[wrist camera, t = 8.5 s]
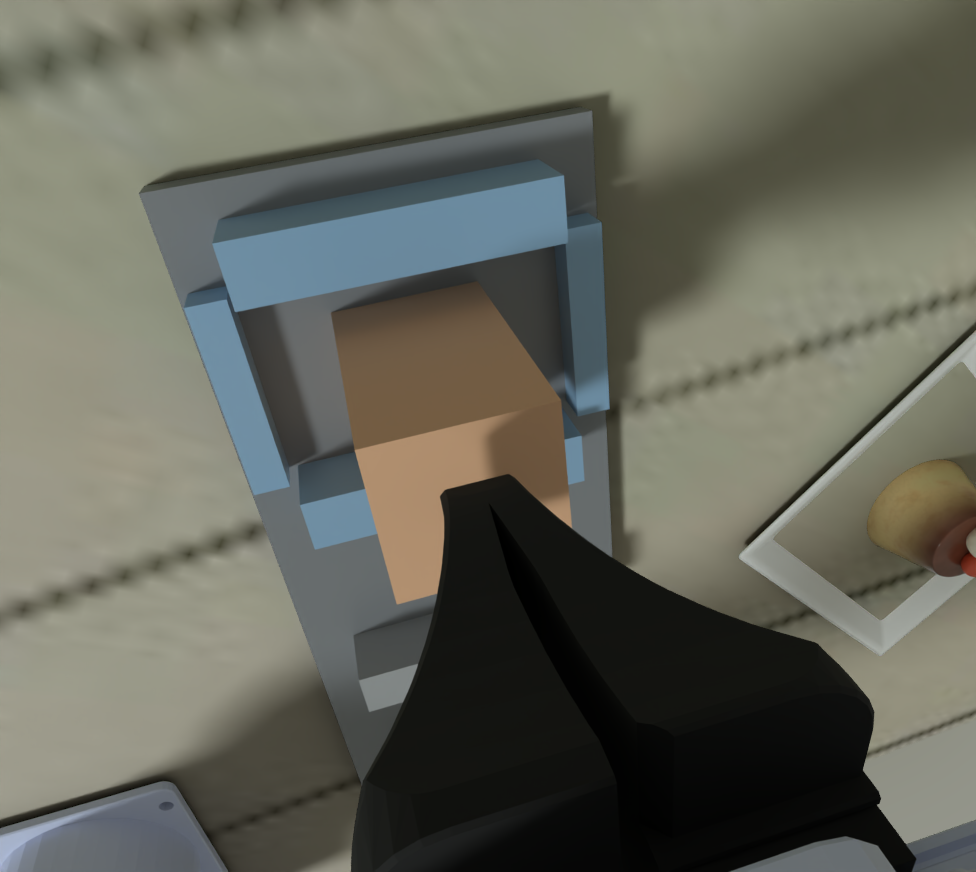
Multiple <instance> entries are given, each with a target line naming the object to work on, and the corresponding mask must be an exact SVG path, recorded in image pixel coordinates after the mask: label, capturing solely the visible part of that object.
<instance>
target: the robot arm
mask: <svg viewBox="0 0 976 872" xmlns="http://www.w3.org/2000/svg"><path fill="white" fill-rule="evenodd" d="M440 500H441V505H442V510H443V515H444V545H443V557H442V567H441V574H440V580H439V586H438V592H437V597H436V603H435V607H434V612H433V616H432V620H431V624H430V628H429V631H428V635H427V638H426V642H425V645H424V648H423V651H422V654H421V657H420V660H419V663H418V666H417V669H416V672H415V675H414V677H413V680H412V682H411V685H410V688H409V690H408V692H407V694H406V697H405V699H404V701H403V703H402V706H401V708H400V710H399V712H398V715H397V717H396V719H395V721H394V724H393V726H392V728H391V730H390V732H389V734H388V736H387V738H386V740H385V742H384V744H383V745H382V747H381V749H380V751H379V753H378V754H377V756H376V758H375V760H374V762H373V764H372V765H371V767H370V769H369V771H368V773H367V774H366V776H365V778H364V780H363V783H362V787H361V792H360V798H359V803H358V808H357V814H356V820H355V826H354V833H353V843H352V857H351V872H976V820H974V821H971V822H968V823H965V824H962V825H959V826H957V827H954V828H951V829H948V830H945V831H942V832H940V833H937V834H934V835H931V836H928V837H926V838H923V839H920V840H917V841H914V842H911V843H908V844H905V843H904V841H903V840H902V839H901V837H900V836H899V834H898V833H897V832H896V830H895V829H894V828H893V826H892V825H891V824H890V822H889V821H888V820H887V818H886V817H885V816H884V814H883V813H882V812H881V810H880V809H879V808H878V806H877V804H879V803H880V800H881V797H880V795H879V791H878V790H877V789H876V787H875V786H874V785H873V783H872V782H871V781H870V779H869V778H868V777H867V775H866V774H865V773H864V772H863V767H864V763H865V759H866V755H867V751H868V747H869V743H870V739H871V735H872V731H873V724H874V710H873V707H872V705H871V703H870V700H869V698H868V697H867V696H866V695H865V694H864V692H863V691H862V690H861V689H860V688H859V687H858V685H857V684H856V683H855V682H854V681H853V679H852V678H851V677H850V676H849V675H848V674H847V673H846V672H845V671H844V669H843V668H842V667H841V666H840V665H839V664H838V663H837V662H836V661H835V660H834V659H832V658H831V657H830V656H829V655H828V654H827V653H826V652H825V651H824V650H823V649H822V648H821V647H820V646H819V645H818V644H817V643H815V642H811V641H808V640H804V639H801V638H797V637H794V636H790V635H787V634H783V633H780V632H776V631H773V630H769V629H766V628H762V627H759V626H756V625H753V624H750V623H747V622H745V621H742V620H739V619H736V618H733V617H731V616H728V615H725V614H722V613H720V612H717V611H715V610H712V609H710V608H707V607H705V606H703V605H700V604H698V603H696V602H694V601H692V600H689V599H687V598H685V597H683V596H680V595H678V594H676V593H674V592H672V591H669V590H667V589H665V588H663V587H661V586H660V585H658V584H656V583H654V582H652V581H650V580H648V579H647V578H645V577H643V576H641V575H640V574H638V573H636V572H634V571H633V570H631V569H629V568H628V567H626V566H625V565H623V564H621V563H620V562H618V561H617V560H615V559H614V558H612V557H611V556H609V555H608V554H606V553H605V552H603V551H602V550H600V549H599V548H597V547H596V546H595V545H593V544H592V543H590V542H589V541H588V540H586V539H585V538H584V537H582V536H581V535H580V534H578V533H577V532H576V531H575V530H573V529H572V528H571V527H570V526H568V525H567V524H566V523H564V522H563V521H562V520H561V519H559V518H558V517H557V516H556V515H555V514H553V513H552V512H551V511H550V510H549V509H548V508H547V507H545V506H544V505H543V504H542V503H541V502H540V501H539V500H538V499H536V498H535V497H534V496H533V495H532V494H531V493H530V492H529V491H528V490H527V489H526V488H525V487H524V486H523V485H522V484H521V483H520V482H519V481H518V480H517V479H516V478H515V477H513V476H511V475H510V474H506V475H502V476H498V477H494V478H490V479H486V480H482V481H478V482H474V483H470V484H466V485H462V486H458V487H454V488H450V489H446V490H444V491H443V493H442V494H441V495H440ZM0 872H228V870H227V868H226V867H225V865H224V863H223V862H222V860H221V859H220V857H219V855H218V854H217V852H216V850H215V849H214V847H213V846H212V844H211V842H210V841H209V839H208V837H207V836H206V834H205V833H204V831H203V829H202V828H201V826H200V824H199V823H198V821H197V819H196V818H195V816H194V815H193V813H192V811H191V810H190V808H189V806H188V805H187V803H186V802H185V800H184V798H183V797H182V795H181V793H180V792H179V790H178V788H177V787H176V786H175V785H174V784H173V783H171V782H167V781H162V782H157V783H153V784H150V785H147V786H143V787H140V788H136V789H133V790H129V791H126V792H123V793H119V794H116V795H112V796H109V797H105V798H102V799H99V800H95V801H92V802H88V803H85V804H81V805H78V806H75V807H71V808H68V809H64V810H61V811H57V812H54V813H51V814H47V815H44V816H40V817H37V818H33V819H30V820H27V821H23V822H20V823H16V824H13V825H9V826H6V827H2V828H0Z"/></svg>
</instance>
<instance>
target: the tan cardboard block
mask: <svg viewBox="0 0 976 872" xmlns="http://www.w3.org/2000/svg"><path fill="white" fill-rule="evenodd" d="M331 317H332V323H333V329H334V334H335V340H336V346H337V352H338V357H339V363H340V369H341V375H342V380H343V386H344V392H345V398H346V403H347V409H348V415H349V421H350V426H351V432H352V438H353V444H354V449H355V453H356V457H357V461H358V464H359V468H360V472H361V475H362V479H363V483H364V486H365V490H366V494H367V497H368V501H369V505H370V508H371V512H372V516H373V519H374V523H375V527H376V530H377V534H378V538H379V541H380V545H381V549H382V552H383V556H384V560H385V563H386V567H387V571H388V574H389V578H390V582H391V585H392V589H393V592H394V596H395V600H396V603H397V604H401V603H405V602H408V601H412V600H416V599H419V598H423V597H427V596H430V595H434V594H437V592H438V586H439V580H440V574H441V567H442V557H443V545H444V515H443V510H442V505H441V500H440V495H441V494H442V493H443V491H444V490H446V489H450V488H454V487H458V486H462V485H466V484H470V483H474V482H478V481H482V480H486V479H490V478H494V477H498V476H502V475H506V474H510V475H511V476H513V477H515V478H516V479H517V480H518V481H519V482H520V483H521V484H522V485H523V486H524V487H525V488H526V489H527V490H528V491H529V492H530V493H531V494H532V495H533V496H534V497H535V498H536V499H538V500H539V501H540V502H541V503H542V504H543V505H544V506H545V507H547V508H548V509H549V510H550V511H551V512H552V513H553V514H555V515H556V516H557V517H558V518H559V519H561V520H562V521H563V522H564V523H566V524H567V525H568V526H570V527H571V528H572V522H571V510H570V498H569V486H568V475H567V463H566V451H565V439H564V428H563V416H562V404H561V399H560V398H559V397H558V395H557V394H556V392H555V391H554V389H553V388H552V387H551V385H550V384H549V382H548V381H547V380H546V378H545V377H544V375H543V374H542V372H541V371H540V370H539V368H538V367H537V365H536V364H535V362H534V361H533V360H532V358H531V357H530V355H529V354H528V352H527V351H526V350H525V348H524V347H523V345H522V344H521V343H520V341H519V340H518V338H517V337H516V335H515V334H514V333H513V331H512V330H511V328H510V327H509V325H508V324H507V323H506V321H505V320H504V318H503V317H502V316H501V314H500V313H499V311H498V310H497V308H496V307H495V306H494V304H493V303H492V301H491V300H490V298H489V297H488V296H487V294H486V293H485V291H484V290H483V289H482V287H481V286H480V284H479V283H478V281H476V282H471V283H467V284H462V285H457V286H453V287H448V288H443V289H439V290H434V291H429V292H425V293H420V294H415V295H411V296H406V297H401V298H397V299H392V300H387V301H383V302H378V303H373V304H369V305H364V306H359V307H355V308H350V309H345V310H341V311H336V312H331Z"/></svg>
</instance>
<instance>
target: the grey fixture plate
mask: <svg viewBox="0 0 976 872" xmlns="http://www.w3.org/2000/svg"><path fill="white" fill-rule="evenodd" d="M139 195H140V198H141V200H142V203H143V205H144V208H145V211H146V213H147V216H148V219H149V221H150V224H151V227H152V229H153V232H154V235H155V237H156V240H157V243H158V245H159V248H160V251H161V253H162V256H163V259H164V261H165V264H166V267H167V269H168V272H169V275H170V277H171V280H172V282H173V285H174V288H175V290H176V293H177V296H178V298H179V301H180V304H181V306H182V309H183V312H184V314H185V317H186V320H187V322H188V325H189V328H190V330H191V333H192V336H193V338H194V341H195V344H196V346H197V349H198V352H199V354H200V357H201V360H202V362H203V365H204V367H205V370H206V373H207V375H208V378H209V381H210V383H211V386H212V389H213V391H214V394H215V397H216V399H217V402H218V405H219V407H220V410H221V413H222V415H223V418H224V421H225V423H226V426H227V429H228V431H229V434H230V437H231V439H232V442H233V445H234V447H235V450H236V452H237V455H238V458H239V460H240V463H241V466H242V468H243V471H244V474H245V476H246V479H247V482H248V484H249V487H250V490H251V492H252V495H253V498H254V500H255V503H256V506H257V508H258V511H259V514H260V516H261V519H262V522H263V524H264V527H265V529H266V532H267V535H268V537H269V540H270V543H271V545H272V548H273V551H274V553H275V556H276V559H277V561H278V564H279V567H280V569H281V572H282V575H283V577H284V580H285V583H286V585H287V588H288V591H289V593H290V596H291V599H292V601H293V604H294V607H295V609H296V612H297V614H298V617H299V620H300V622H301V625H302V628H303V630H304V633H305V636H306V638H307V641H308V644H309V646H310V649H311V652H312V654H313V657H314V660H315V662H316V665H317V668H318V670H319V673H320V676H321V678H322V681H323V684H324V686H325V689H326V691H327V694H328V697H329V699H330V702H331V705H332V707H333V710H334V713H335V715H336V718H337V721H338V723H339V726H340V729H341V731H342V734H343V737H344V739H345V742H346V745H347V747H348V750H349V753H350V755H351V758H352V761H353V763H354V766H355V769H356V771H357V774H358V776H359V779H360V782H361V784H362V783H363V780H364V778H365V776H366V774H367V773H368V771H369V769H370V767H371V765H372V764H373V762H374V760H375V758H376V756H377V754H378V753H379V751H380V749H381V747H382V745H383V744H384V742H385V740H386V738H387V736H388V734H389V732H390V730H391V728H392V726H393V724H394V721H395V719H396V717H397V715H398V712H399V710H400V708H401V706H402V703H403V701H404V699H405V697H406V694H407V692H408V690H409V688H410V685H411V682H412V680H413V677H414V675H415V672H416V669H417V666H418V663H419V660H420V657H421V654H422V651H423V648H424V645H425V642H426V638H427V635H428V631H429V628H430V624H431V620H432V616H433V612H434V607H435V603H436V597H437V594H434V595H430V596H427V597H423V598H419V599H416V600H412V601H408V602H405V603H401V604H397V603H396V600H395V596H394V592H393V589H392V585H391V582H390V578H389V574H388V571H387V567H386V563H385V560H384V556H383V552H382V549H381V545H380V541H379V538H378V534H377V530H376V527H375V523H374V519H373V516H372V512H371V508H370V505H369V501H368V497H367V494H366V490H365V486H364V483H363V479H362V475H361V472H360V468H359V464H358V461H357V457H356V453H355V449H354V444H353V438H352V432H351V426H350V421H349V415H348V409H347V403H346V398H345V392H344V386H343V380H342V375H341V369H340V363H339V357H338V352H337V346H336V340H335V334H334V329H333V323H332V317H331V312H336V311H341V310H345V309H350V308H355V307H359V306H364V305H369V304H373V303H378V302H383V301H387V300H392V299H397V298H401V297H406V296H411V295H415V294H420V293H425V292H429V291H434V290H439V289H443V288H448V287H453V286H457V285H462V284H467V283H471V282H476V281H478V283H479V284H480V286H481V287H482V289H483V290H484V291H485V293H486V294H487V296H488V297H489V298H490V300H491V301H492V303H493V304H494V306H495V307H496V308H497V310H498V311H499V313H500V314H501V316H502V317H503V318H504V320H505V321H506V323H507V324H508V325H509V327H510V328H511V330H512V331H513V333H514V334H515V335H516V337H517V338H518V340H519V341H520V343H521V344H522V345H523V347H524V348H525V350H526V351H527V352H528V354H529V355H530V357H531V358H532V360H533V361H534V362H535V364H536V365H537V367H538V368H539V370H540V371H541V372H542V374H543V375H544V377H545V378H546V380H547V381H548V382H549V384H550V385H551V387H552V388H553V389H554V391H555V392H556V394H557V395H558V397H559V398H560V399H561V404H562V416H563V428H564V439H565V451H566V463H567V475H568V486H569V498H570V510H571V522H572V529H573V530H575V531H576V532H577V533H578V534H580V535H581V536H582V537H584V538H585V539H586V540H588V541H589V542H590V543H592V544H593V545H595V546H596V547H597V548H599V549H600V550H602V551H603V552H605V553H606V554H608V555H609V556H611V557H612V538H611V516H610V494H609V472H608V450H607V428H606V410H607V409H610V408H609V384H608V360H607V336H606V313H605V289H604V265H603V241H602V222H601V221H599V220H598V219H597V206H596V184H595V162H594V140H593V118H592V111H591V110H589V109H586V108H583V107H577V108H571V109H566V110H560V111H555V112H549V113H544V114H538V115H533V116H527V117H522V118H516V119H511V120H505V121H500V122H494V123H489V124H483V125H478V126H472V127H467V128H461V129H456V130H450V131H445V132H439V133H434V134H428V135H423V136H417V137H412V138H406V139H401V140H395V141H390V142H384V143H379V144H373V145H367V146H362V147H356V148H351V149H345V150H340V151H334V152H329V153H323V154H318V155H312V156H307V157H301V158H296V159H290V160H285V161H279V162H274V163H268V164H263V165H257V166H252V167H246V168H241V169H235V170H230V171H224V172H219V173H213V174H208V175H202V176H197V177H191V178H186V179H180V180H175V181H169V182H164V183H158V184H153V185H147V186H144V187H143V189H142V190H141V191H140V193H139Z"/></svg>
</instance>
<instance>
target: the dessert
mask: <svg viewBox="0 0 976 872" xmlns="http://www.w3.org/2000/svg"><path fill="white" fill-rule="evenodd" d="M960 362H963V363H964V364H965V365H966V366H967V367H968V369H969V370H970V371H971V372H972V374H973V375H974V376H975V378H976V330H975V331H974V332H973V333H972V334H971V335H970V336H969V337H968V338H967V339H966V340H965V341H964V342H963V343H962V344H961V345H960V346H959V347H958V348H956V349H955V350H954V351H953V352H952V353H951V354H950V355H949V356H948V357H947V358H946V359H945V360H944V361H943V362H942V363H941V364H940V365H939V366H937V367H936V368H935V369H934V370H933V371H932V372H931V373H930V374H929V375H928V376H927V377H926V378H925V379H924V380H923V381H922V382H921V383H920V384H918V385H917V386H916V387H915V388H914V389H913V390H912V391H911V392H910V393H909V394H908V395H907V396H906V397H905V398H904V399H903V400H902V401H901V402H899V403H898V404H897V405H896V406H895V407H894V408H893V409H892V410H891V411H890V412H889V413H888V414H887V415H886V416H885V417H884V418H883V419H881V420H880V421H879V422H878V423H877V424H876V425H875V426H874V427H873V428H872V429H871V430H870V431H869V432H868V433H867V434H866V435H865V436H864V437H862V438H861V439H860V440H859V441H858V442H857V443H856V444H855V445H854V446H853V447H852V448H851V449H850V450H849V451H848V452H847V453H846V454H845V455H843V456H842V457H841V458H840V459H839V460H838V461H837V462H836V463H835V464H834V465H833V466H832V467H831V468H830V469H829V470H828V471H827V472H826V473H824V474H823V475H822V476H821V477H820V478H819V479H818V480H817V481H816V482H815V483H814V484H813V485H812V486H811V487H810V488H809V489H808V490H807V491H805V492H804V493H803V494H802V495H801V496H800V497H799V498H798V499H797V500H796V501H795V502H794V503H793V504H792V505H791V506H790V507H789V508H788V509H786V510H785V511H784V512H783V513H782V514H781V515H780V516H779V517H778V518H777V519H776V520H775V521H774V522H773V523H772V524H771V525H770V526H768V527H767V528H766V529H765V530H764V531H763V532H762V533H761V534H760V535H759V536H758V537H757V538H756V539H755V540H754V541H753V542H752V543H751V544H749V545H748V546H747V547H746V548H745V549H744V550H743V551H742V552H741V553H740V555H739V559H740V560H742V561H743V562H744V563H746V564H747V565H749V566H750V567H752V568H753V569H755V570H756V571H757V572H759V573H760V574H762V575H763V576H765V577H766V578H767V579H769V580H770V581H772V582H773V583H775V584H776V585H778V586H779V587H780V588H782V589H783V590H785V591H786V592H788V593H789V594H790V595H792V596H793V597H795V598H796V599H798V600H799V601H801V602H802V603H803V604H805V605H806V606H808V607H809V608H811V609H812V610H814V611H815V612H816V613H818V614H819V615H821V616H822V617H824V618H825V619H826V620H828V621H829V622H831V623H832V624H834V625H835V626H837V627H838V628H839V629H841V630H842V631H844V632H845V633H847V634H848V635H849V636H851V637H852V638H854V639H855V640H857V641H858V642H860V643H861V644H862V645H864V646H865V647H867V648H868V649H870V650H871V651H872V652H874V653H875V654H877V655H878V656H882V655H883V654H884V653H886V652H887V651H888V650H889V649H890V648H892V647H893V646H894V645H895V644H896V643H897V642H899V641H900V640H901V639H902V638H903V637H905V636H906V635H907V634H908V633H909V632H910V631H912V630H913V629H914V628H915V627H916V626H918V625H919V624H920V623H921V622H922V621H924V620H925V619H926V618H927V617H928V616H929V615H931V614H932V613H933V612H934V611H935V610H937V609H938V608H939V607H940V606H941V605H943V604H944V603H945V602H946V601H947V600H948V599H950V598H951V597H952V596H953V595H954V594H956V593H957V592H958V591H959V590H960V589H961V588H963V587H964V586H965V585H966V584H967V583H969V582H970V581H971V580H972V579H973V578H975V577H976V488H975V487H974V485H973V484H972V483H971V481H970V480H969V479H968V477H967V476H966V474H965V473H964V472H963V470H962V469H961V468H960V466H958V465H957V464H956V463H954V462H952V461H948V460H932V461H928V462H924V463H921V464H919V465H917V466H914V467H912V468H910V469H909V470H907V471H905V472H904V473H902V474H901V475H900V476H898V477H897V478H896V479H894V480H893V481H892V482H891V483H890V484H889V485H888V486H887V487H886V488H885V489H884V490H883V491H882V493H881V494H880V495H879V497H878V498H877V500H876V501H875V503H874V505H873V507H872V509H871V511H870V514H869V517H868V522H867V531H868V535H869V537H870V539H871V541H872V542H873V543H874V544H875V545H877V546H879V547H881V548H883V549H886V550H888V551H890V552H892V553H894V554H896V555H898V556H900V557H902V558H904V559H906V560H908V561H910V562H912V563H914V564H916V565H919V566H921V567H923V568H925V569H927V570H929V571H931V572H933V573H935V574H936V575H935V576H934V577H932V578H931V579H930V580H929V581H928V582H927V583H925V584H924V585H923V586H922V587H921V588H919V589H918V590H917V591H916V592H915V593H914V594H912V595H911V596H910V597H909V598H908V599H907V600H905V601H904V602H903V603H902V604H901V605H899V606H898V607H897V608H896V609H895V610H894V611H892V612H891V613H890V614H889V615H888V616H887V617H885V618H884V619H882V620H879V619H877V618H876V617H875V616H873V615H872V614H871V613H869V612H868V611H867V610H865V609H864V608H863V607H861V606H860V605H859V604H857V603H856V602H855V601H853V600H852V599H851V598H849V597H848V596H847V595H845V594H844V593H843V592H841V591H840V590H839V589H838V588H836V587H835V586H834V585H832V584H831V583H830V582H828V581H827V580H826V579H824V578H823V577H822V576H820V575H819V574H818V573H816V572H815V571H814V570H812V569H811V568H810V567H808V566H807V565H806V564H804V563H803V562H802V561H800V560H799V559H798V558H796V557H795V556H794V555H793V554H791V553H790V552H789V551H787V550H786V549H785V548H783V547H782V546H781V545H779V544H778V543H777V542H775V541H774V537H775V535H776V534H777V533H778V532H779V531H780V530H781V529H782V528H784V527H785V526H786V525H787V524H788V523H789V522H790V521H791V520H792V519H793V518H794V517H795V516H796V515H797V514H798V513H799V512H801V511H802V510H803V509H804V508H805V507H806V506H807V505H808V504H809V503H810V502H811V501H812V500H813V499H814V498H815V497H816V496H818V495H819V494H820V493H821V492H822V491H823V490H824V489H825V488H826V487H827V486H828V485H829V484H830V483H831V482H832V481H833V480H835V479H836V478H837V477H838V476H839V475H840V474H841V473H842V472H843V471H844V470H845V469H846V468H847V467H848V466H849V465H850V464H852V463H853V462H854V461H855V460H856V459H857V458H858V457H859V456H860V455H861V454H862V453H863V452H864V451H865V450H866V449H867V448H869V447H870V446H871V445H872V444H873V443H874V442H875V441H876V440H877V439H878V438H879V437H880V436H881V435H882V434H883V433H884V432H886V431H887V430H888V429H889V428H890V427H891V426H892V425H893V424H894V423H895V422H896V421H897V420H898V419H899V418H900V417H901V416H903V415H904V414H905V413H906V412H907V411H908V410H909V409H910V408H911V407H912V406H913V405H914V404H915V403H916V402H917V401H918V400H920V399H921V398H922V397H923V396H924V395H925V394H926V393H927V392H928V391H929V390H930V389H931V388H932V387H933V386H934V385H935V384H937V383H938V382H939V381H940V380H941V379H942V378H943V377H944V376H945V375H946V374H947V373H948V372H949V371H950V370H951V369H952V368H954V367H955V366H956V365H957V364H958V363H960Z"/></svg>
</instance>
